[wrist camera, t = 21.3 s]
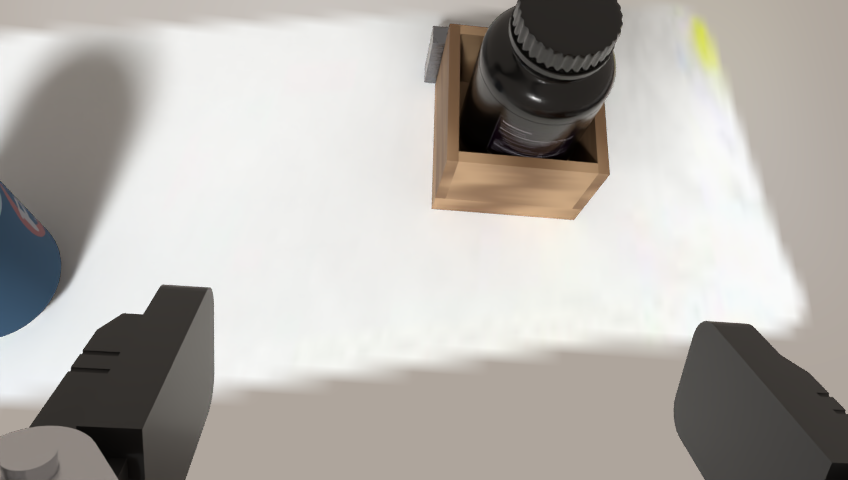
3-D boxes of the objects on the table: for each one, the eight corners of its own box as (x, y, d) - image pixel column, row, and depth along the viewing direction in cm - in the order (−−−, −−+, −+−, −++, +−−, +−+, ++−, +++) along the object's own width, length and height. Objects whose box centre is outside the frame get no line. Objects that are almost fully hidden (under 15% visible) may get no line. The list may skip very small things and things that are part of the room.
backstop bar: (424, 81, 45) (432, 42, 42) (424, 66, 46) (433, 25, 42) (578, 96, 46) (599, 59, 43) (577, 81, 47) (598, 43, 43)
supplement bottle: (455, 87, 44) (498, -62, 33) (564, 99, 44) (642, -43, 33) (451, 188, 41) (496, 64, 30) (567, 199, 42) (653, 82, 31)
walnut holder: (431, 208, 42) (446, 160, 37) (435, 84, 45) (449, 23, 40) (573, 219, 43) (609, 174, 38) (567, 97, 46) (599, 39, 41)
